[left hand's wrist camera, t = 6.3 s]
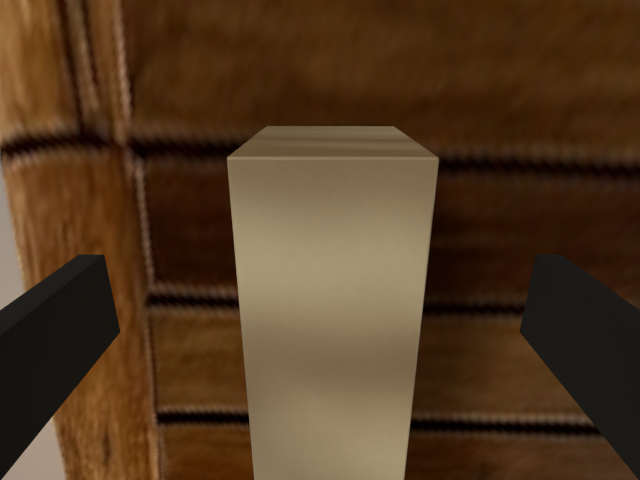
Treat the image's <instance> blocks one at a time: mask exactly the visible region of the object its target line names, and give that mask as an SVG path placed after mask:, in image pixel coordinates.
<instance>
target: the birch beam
mask: <svg viewBox="0 0 640 480" xmlns="http://www.w3.org/2000/svg"><path fill="white" fill-rule="evenodd" d="M438 165H439V158H438V157H437V156H435V155H434V154H433V153H431V152H430V151H428V150H427V149H425V148H424V147H423V146H421V145H420V144H418V143H417V142H415V141H414V140H413V139H411V138H410V137H408V136H407V135H405V134H404V133H403V132H401V131H400V130H398V129H397V128H395V127H394V126H267V127H265V128H264V129H263V130H261V131H260V132H259V133H258V134H256V135H255V136H254V137H252V138H251V139H250V140H249V141H247V142H246V143H245V144H244V145H242V146H241V147H240V148H238V149H237V150H236V151H235V152H233V153H232V154H231V155H230V156H228V158H227V166H228V178H229V190H230V201H231V213H232V225H233V236H234V248H235V260H236V271H237V283H238V295H239V307H240V318H241V330H242V342H243V353H244V365H245V377H246V388H247V400H248V412H249V423H250V435H251V447H252V459H253V470H254V480H404V476H405V467H406V458H407V449H408V439H409V430H410V421H411V412H412V403H413V394H414V385H415V375H416V366H417V357H418V348H419V339H420V330H421V321H422V311H423V302H424V293H425V284H426V275H427V266H428V256H429V247H430V238H431V229H432V220H433V211H434V202H435V192H436V183H437V174H438Z"/></svg>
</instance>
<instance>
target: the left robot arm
mask: <svg viewBox="0 0 640 480" xmlns="http://www.w3.org/2000/svg"><path fill="white" fill-rule="evenodd" d="M119 333H120V328H119V323H118V319H117V314H116V309H115V304H114V300H113V295H112V290H111V285H110V281H109V276H108V271H107V266H106V262H105V257H104V255H78V256H76V257H75V258H73V259H72V260H71V261H69V262H68V263H66V264H65V265H64V266H62V267H61V268H59V269H58V270H57V271H55V272H54V273H52V274H51V275H49V276H48V277H47V278H45V279H44V280H42V281H41V282H40V283H38V284H37V285H35V286H34V287H33V288H31V289H30V290H28V291H27V292H25V293H24V294H23V295H21V296H20V297H18V298H17V299H16V300H14V301H13V302H11V303H10V304H9V305H7V306H6V307H4V308H3V309H2V310H0V480H1V479H2V478H3V477H4V476H5V474H6V473H7V472H8V471H9V469H10V468H11V467H12V466H13V464H14V463H15V462H16V461H17V459H18V458H19V457H20V456H21V454H22V453H23V452H24V451H25V449H26V448H27V447H28V446H29V445H30V443H31V442H32V441H33V440H34V438H35V437H36V436H37V435H38V433H39V432H40V431H41V430H42V428H43V427H44V426H45V425H46V423H47V422H48V421H49V420H50V418H51V417H52V416H53V415H54V414H55V412H56V411H57V410H58V409H59V407H60V406H61V405H62V404H63V402H64V401H65V400H66V399H67V397H68V396H69V395H70V394H71V392H72V391H73V390H74V389H75V387H76V386H77V385H78V384H79V382H80V381H81V380H82V379H83V378H84V376H85V375H86V374H87V373H88V371H89V370H90V369H91V368H92V366H93V365H94V364H95V363H96V361H97V360H98V359H99V358H100V356H101V355H102V354H103V353H104V351H105V350H106V349H107V348H108V346H109V345H110V344H111V343H112V342H113V340H114V339H115V338H116V337H117V335H118V334H119ZM520 333H521V334H522V335H523V337H524V338H525V339H526V340H527V342H528V343H529V344H530V345H531V346H532V348H533V349H534V350H535V351H536V353H537V354H538V355H539V356H540V358H541V359H542V360H543V361H544V363H545V364H546V365H547V366H548V368H549V369H550V370H551V371H552V373H553V374H554V375H555V376H556V378H557V379H558V380H559V381H560V382H561V384H562V385H563V386H564V387H565V389H566V390H567V391H568V392H569V394H570V395H571V396H572V397H573V399H574V400H575V401H576V402H577V404H578V405H579V406H580V407H581V409H582V410H583V411H584V412H585V414H586V415H587V416H588V417H589V418H590V420H591V421H592V422H593V423H594V425H595V426H596V427H597V428H598V430H599V431H600V432H601V433H602V435H603V436H604V437H605V438H606V440H607V441H608V442H609V443H610V445H611V446H612V447H613V448H614V450H615V451H616V452H617V453H618V455H619V456H620V457H621V458H622V459H623V461H624V462H625V463H626V464H627V466H628V467H629V468H630V469H631V471H632V472H633V473H634V474H635V476H636V477H637V478H638V479H639V480H640V310H639V309H637V308H636V307H634V306H633V305H631V304H630V303H629V302H627V301H626V300H624V299H623V298H622V297H620V296H619V295H617V294H616V293H615V292H613V291H612V290H610V289H609V288H607V287H606V286H605V285H603V284H602V283H600V282H599V281H598V280H596V279H595V278H593V277H592V276H591V275H589V274H588V273H586V272H585V271H583V270H582V269H581V268H579V267H578V266H576V265H575V264H574V263H572V262H571V261H569V260H568V259H567V258H565V257H564V256H562V255H536V257H535V262H534V266H533V271H532V276H531V281H530V285H529V290H528V295H527V300H526V304H525V309H524V314H523V319H522V323H521V328H520Z"/></svg>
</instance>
